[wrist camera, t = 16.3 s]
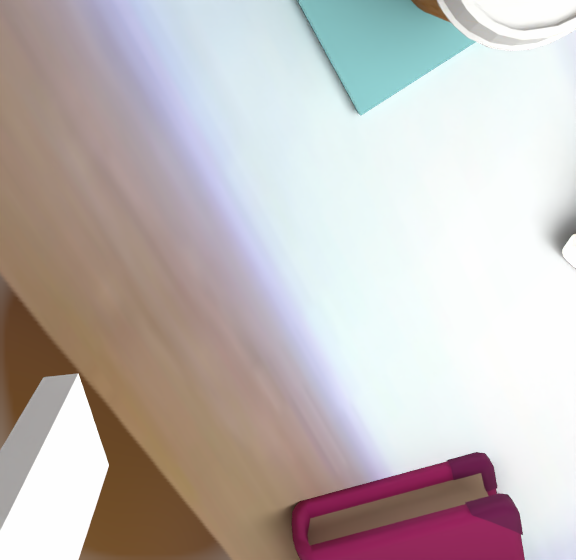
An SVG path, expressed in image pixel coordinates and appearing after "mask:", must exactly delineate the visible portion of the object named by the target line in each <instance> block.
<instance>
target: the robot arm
mask: <svg viewBox="0 0 576 560" xmlns="http://www.w3.org/2000/svg"><path fill="white" fill-rule="evenodd" d="M108 466H109V464H108V462H107V459H106V455H105V452H104V449H103V446H102V443H101V440H100V437H99V434H98V431H97V428H96V425H95V423H94V420H93V416H92V413H91V410H90V407H89V404H88V401H87V398H86V395H85V392H84V389H83V386H82V383H81V380H80V377H79V374H71V375H61V376H52V377H43V379H42V381H41V382H40V384H39V386H38V388H37V389H36V391H35V393H34V394H33V396H32V398H31V399H30V401H29V403H28V405H27V406H26V408H25V409H24V411H23V413H22V415H21V416H20V418H19V420H18V421H17V423H16V425H15V426H14V428H13V430H12V431H11V433H10V435H9V437H8V438H7V440H6V442H5V444H4V445H3V447H2V449H1V450H0V560H78V559H79V556H80V553H81V549H82V546H83V544H84V540H85V537H86V534H87V531H88V528H89V525H90V522H91V519H92V516H93V513H94V509H95V507H96V503H97V500H98V497H99V494H100V491H101V488H102V485H103V482H104V479H105V476H106V473H107V470H108Z"/></svg>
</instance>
